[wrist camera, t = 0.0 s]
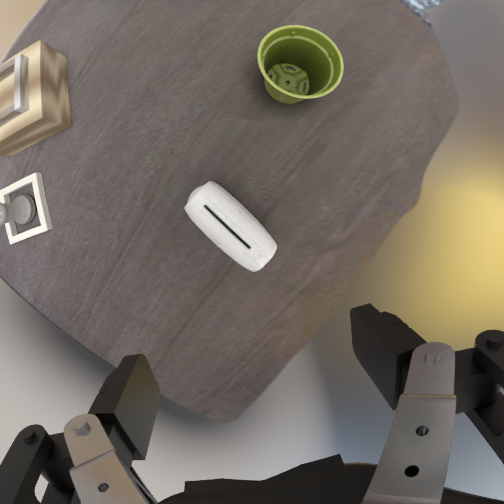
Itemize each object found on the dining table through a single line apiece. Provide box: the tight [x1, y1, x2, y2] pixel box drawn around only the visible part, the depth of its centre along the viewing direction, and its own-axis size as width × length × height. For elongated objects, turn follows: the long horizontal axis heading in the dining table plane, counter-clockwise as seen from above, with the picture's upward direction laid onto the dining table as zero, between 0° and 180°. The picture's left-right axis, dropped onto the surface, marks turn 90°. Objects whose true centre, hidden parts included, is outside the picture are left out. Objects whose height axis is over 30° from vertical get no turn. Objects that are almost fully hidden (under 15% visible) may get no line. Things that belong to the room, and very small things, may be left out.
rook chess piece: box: [0, 194, 36, 226], centre depth 32 cm, size 4×4×8 cm
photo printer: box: [184, 181, 277, 272], centre depth 33 cm, size 10×4×12 cm, turn 46°
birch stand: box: [0, 40, 72, 156], centre depth 28 cm, size 12×12×10 cm
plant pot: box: [257, 25, 343, 104], centre depth 31 cm, size 9×9×9 cm
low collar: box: [0, 172, 53, 244], centre depth 35 cm, size 9×9×2 cm
